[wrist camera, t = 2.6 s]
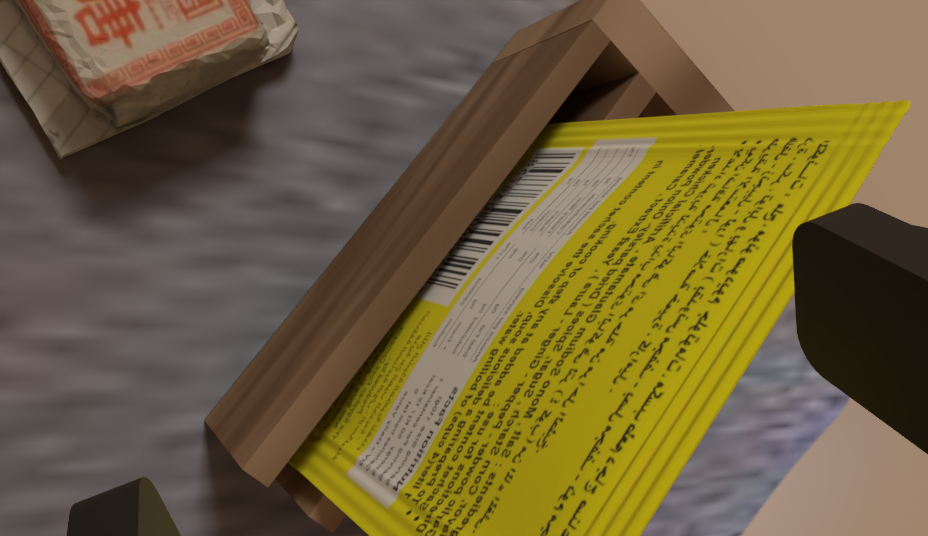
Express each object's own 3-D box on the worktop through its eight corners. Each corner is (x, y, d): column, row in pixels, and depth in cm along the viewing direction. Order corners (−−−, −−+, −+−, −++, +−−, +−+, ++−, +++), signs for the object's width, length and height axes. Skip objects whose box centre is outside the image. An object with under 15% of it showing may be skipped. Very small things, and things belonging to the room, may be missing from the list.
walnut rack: (203, 419, 33) (241, 468, 25) (517, 31, 38) (622, -20, 31) (395, 558, 36) (477, 636, 29) (659, 183, 41) (785, 170, 34)
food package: (250, 425, 34) (554, 701, 16) (229, 409, 33) (518, 676, 16) (479, 138, 37) (920, 116, 20) (463, 119, 37) (901, 81, 20)
